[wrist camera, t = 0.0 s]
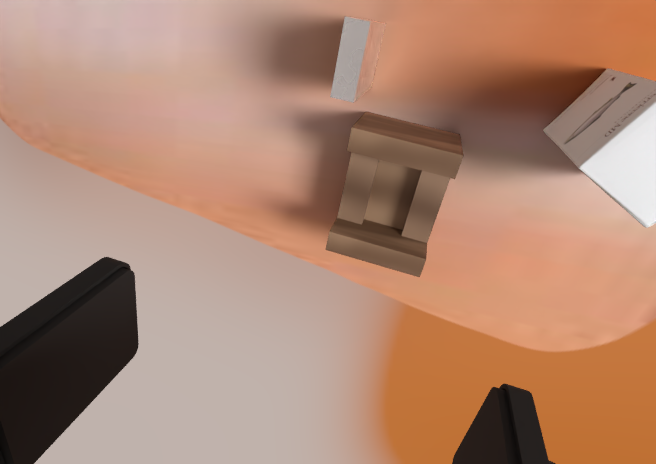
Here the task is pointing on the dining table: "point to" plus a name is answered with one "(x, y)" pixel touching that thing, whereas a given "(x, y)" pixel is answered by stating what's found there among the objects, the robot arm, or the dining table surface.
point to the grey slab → (357, 58)
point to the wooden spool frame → (393, 191)
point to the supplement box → (614, 139)
